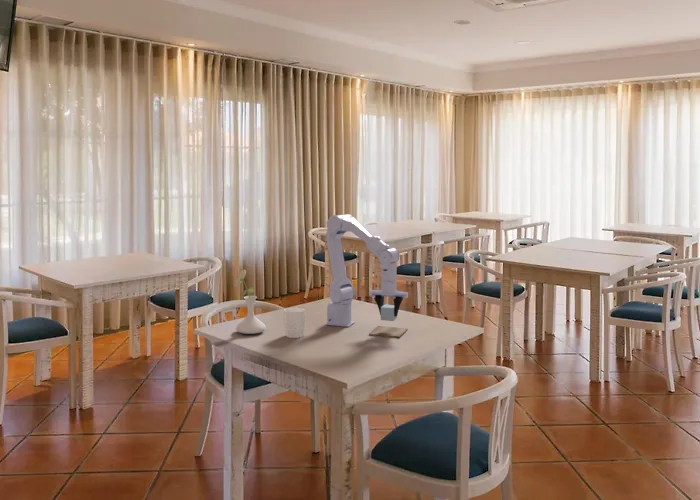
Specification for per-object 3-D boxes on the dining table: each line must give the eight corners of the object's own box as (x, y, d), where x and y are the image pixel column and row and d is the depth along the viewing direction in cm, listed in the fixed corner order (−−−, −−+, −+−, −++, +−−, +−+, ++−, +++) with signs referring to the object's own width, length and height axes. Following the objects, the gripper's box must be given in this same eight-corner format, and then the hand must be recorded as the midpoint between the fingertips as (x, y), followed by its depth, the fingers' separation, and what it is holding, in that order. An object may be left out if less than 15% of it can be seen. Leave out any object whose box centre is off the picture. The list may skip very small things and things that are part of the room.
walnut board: (368, 335, 238) (368, 333, 238) (378, 327, 250) (378, 325, 249) (399, 338, 234) (399, 336, 234) (407, 329, 246) (407, 328, 245)
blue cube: (380, 320, 240) (380, 307, 239) (384, 317, 244) (384, 304, 244) (393, 321, 238) (393, 308, 237) (396, 318, 243) (397, 305, 242)
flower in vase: (250, 327, 250) (249, 264, 247) (272, 331, 244) (271, 267, 240) (226, 334, 240) (224, 269, 236) (248, 339, 233) (246, 272, 230)
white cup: (308, 334, 240) (308, 308, 239) (300, 339, 233) (299, 313, 231) (289, 332, 243) (289, 306, 241) (280, 337, 235) (280, 311, 234)
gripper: (367, 280, 238) (367, 316, 240) (404, 283, 233) (404, 319, 235) (373, 277, 244) (373, 312, 246) (409, 279, 240) (409, 314, 241)
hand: (388, 315), depth 241 cm, fingers closed on blue cube, 5 cm apart
